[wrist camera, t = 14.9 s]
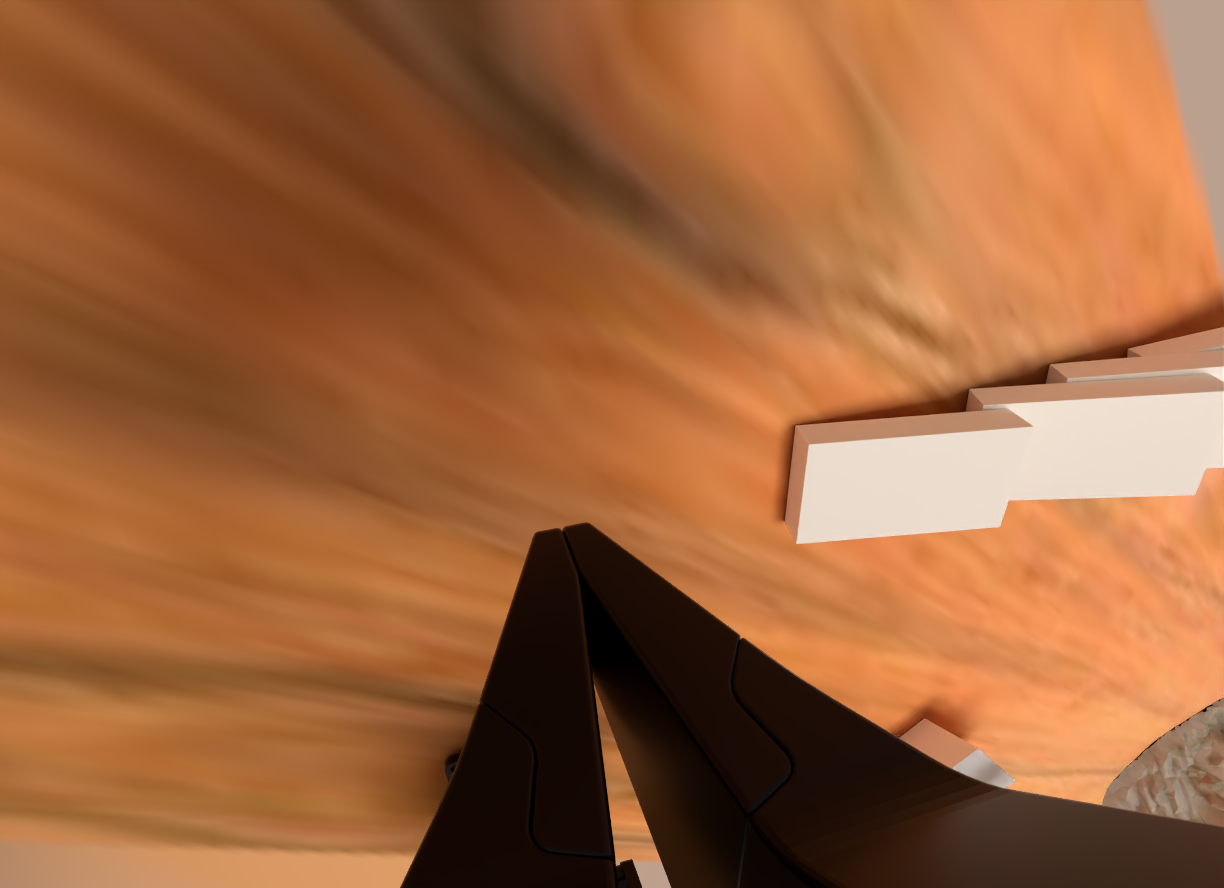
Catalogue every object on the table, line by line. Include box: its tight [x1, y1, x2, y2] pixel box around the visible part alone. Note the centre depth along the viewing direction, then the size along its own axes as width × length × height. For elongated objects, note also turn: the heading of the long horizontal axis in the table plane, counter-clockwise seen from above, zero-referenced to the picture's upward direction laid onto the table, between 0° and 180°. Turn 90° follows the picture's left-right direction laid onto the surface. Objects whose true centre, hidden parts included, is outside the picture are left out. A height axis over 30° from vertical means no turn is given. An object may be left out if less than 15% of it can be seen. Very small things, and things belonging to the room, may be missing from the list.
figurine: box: [899, 718, 1015, 788], centre depth 34 cm, size 7×9×15 cm
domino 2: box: [966, 374, 1224, 500], centre depth 26 cm, size 5×2×9 cm
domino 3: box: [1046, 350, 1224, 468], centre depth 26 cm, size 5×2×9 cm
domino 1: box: [785, 409, 1034, 544], centre depth 25 cm, size 5×2×9 cm
